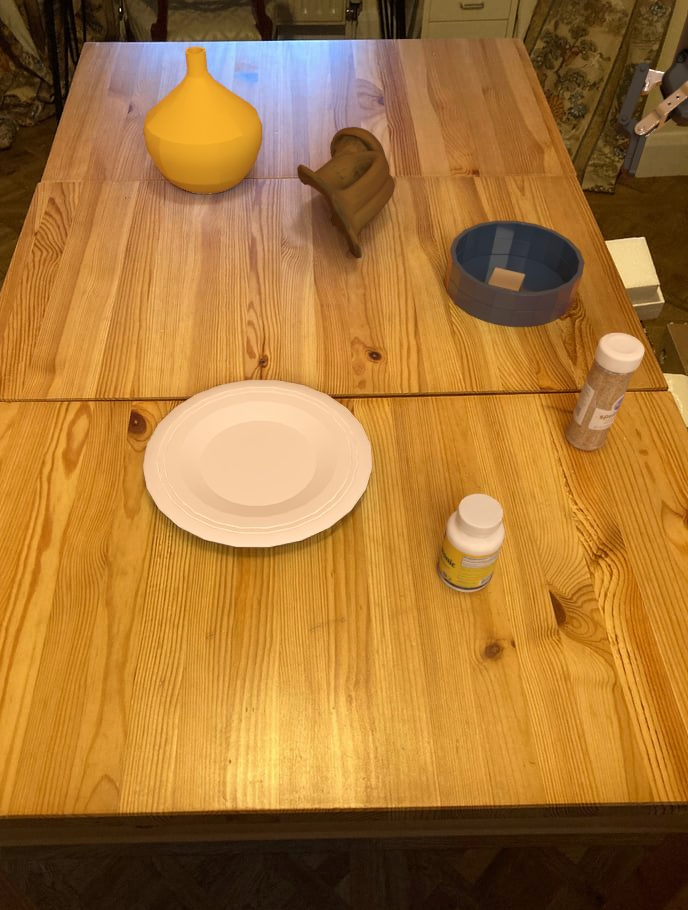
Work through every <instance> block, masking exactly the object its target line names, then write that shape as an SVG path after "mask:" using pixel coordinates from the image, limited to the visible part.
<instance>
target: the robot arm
mask: <svg viewBox="0 0 688 910" xmlns="http://www.w3.org/2000/svg"><path fill="white" fill-rule="evenodd" d="M629 84H630V85H629V86H628V90H627V92H626V95H625V98H624V101H623V103H622V106H621V108H620V111H619V114H618V117H617V120H616V121H615V122H616V123H615V125H614V133H615V134H616V135H620V136H621V135H622V136H623V137H625V138H627V140H628V146H627V149H626V153H625V156H624V159H623V162H622V165H621V168H620V170H621V175H624V176H625V179H624V180H625V182H628V183H633V182H634V179H635V177H636V174H637V171H638V168H639V164H640V161H641V158H642V155H643V151H644V149H645V144H646V142H647V139H648V138H649V137H650V136H652V134H654V133H656V132H658V131H659V130H660V129H662V128H663V127H664V126H665V125H666V124H668V123H669V122H670V121H673V122H674V123H675V126H677V127H683V128H688V11H687V14H686V17H685V20H684V23H683V27H682V30H681V33H680V36H679V39H678V43H677V46H676V48H675V52H674V54H673V58H672V61H671V65H670V66H669V67H668V69H666V70H665V71H661V70H656V69H651V67H650V64H649V63H648V62H646V61H642V62H639V63H638V64H637V66H636V68H635V71H634V74H633V76H632V79H631V82H630V83H629ZM654 87H659V92H660V94H661V96H662V99H663V101H661V102H660V103H659V104H657V106H656V107H654V109H653V110H652V111H651V112H650V113H648V114H647V115H646V116H645V117H644V118H643V119H640V121H639V120H637V119H635V118H634V117H633V116H634V112H635V109H636V107H637V105H638V102H639V100H640V99H639V98H640V96H646V95H648V94H650V92H651V91H652V89H653V88H654Z"/></svg>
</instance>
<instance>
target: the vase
mask: <svg viewBox="0 0 688 910" xmlns="http://www.w3.org/2000/svg"><path fill="white" fill-rule="evenodd" d="M184 54H185V63H186V73H185V75H184V77H183V78H182V80H181V81H180V82H179V83H178V84H177V85H176V86H175V87H174V88H173V89H172V90H171V91H170V92H169V93H168V94H167V95H165V96H164V97H163V98H162V99H161V100H160V101H159V102H157V103H156V104H154V106H153V107H151V109H150V110H148V112H147V113H146V116H145V118H144V122H143V128H142V131H143V137H144V142H145V148H146V152H147V153H148V155H149V156H150V158H151V160H152V162H153V163H154V165H155V167H156V168H157V170H158V171H159V172H160V174H162V175H163V176H164V177H165V178H166V179H167V180H168V181H169V182H170V183H171V184H172V185H174V186H176V187H177V188H179V189H181V190H183V189H184V190H183V191H185V190H186V191H185V192H188V191H189V193H191V192H194V193H193V194H195V193H202V194H201V195H210V194H209V193H217V194H219V193H218V192H221V191H224V192H226V191H225V190H227V191H228V189H229V190H231V189H233V188H234V187H235V186H237V185H238V184H239V183H241V182H242V181H243V180H244V179H245V178H246V177H247V175H248V174H249V172H250V171H251V170H252V168H253V167H254V166H255V164H256V162H257V159H258V156H259V153H260V150H261V148H262V144H263V123H262V121H261V117H260V116H259V114H258V111H257V109H256V107H254V106H253V105H252V104H251V103H250V102H248V101H247V100H245V99H244V98H242V97H241V96H239V95H237V94H236V93H235V92H233V91H232V90H230V89H228V87H226V86H225V85H223V84H221V83H220V81H217V80H216V79H215V78H214V77H213V76H212V74H211V73H209V69H208V62H207V60H208V59H207V51H206V48H205V47H203V46H189V47H187V48H186V49H185V50H184ZM230 188H231V189H230ZM203 193H205V194H203ZM221 193H222V192H221Z"/></svg>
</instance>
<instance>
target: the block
mask: <svg viewBox="0 0 688 910" xmlns="http://www.w3.org/2000/svg"><path fill="white" fill-rule="evenodd" d="M524 277H525V274H522V273H518V272H513V271H509V270H505V269H500V268H495V269H494V272H493V274H492V276H491V278H490V280H489V282H488V285H491V286H493V287H496V288H500V289H505V290H510V291H516V292H521V289H522V285H523V281H524Z"/></svg>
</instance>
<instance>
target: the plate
mask: <svg viewBox="0 0 688 910" xmlns="http://www.w3.org/2000/svg"><path fill="white" fill-rule="evenodd" d="M370 442H371V441H370V440H369V438H368V435H367V433H366V431H365V429H364V426H363V424H362V423H361V422H360V421H359V420H358V419H357V418H356V416H355V415H353V413H352V412H351V411H350V409H349V408H347V407H346V406H344V405H343V404H342V403H340V402H339V401H337V400H336V399H334V398H333V397H332V396H331V395H329V394H327V393H324V392H322V391H319V390H317V389H314V388H312V387H310V386H307V385H304V384H301V383H294V382H290V381H284V380H279V379H246V380H240V381H234V382H229V383H222V384H219V385H217V386H214V387H211V388H208V389H206V390H203V391H200V392H197V393H196V394H194V395H193V396H191V397H189V398H187V399H186V400H185V401H183V402H181V403H180V404H178V405H176V406H175V407H174V408H172V410H171V411H170V412H168V414H167V415H166V416H164V418H163V419H161V421H160V422H159V423H158V424H157V425H156V427H155V429H154V430H153V433H152V435H151V436H150V438H149V439H148V442H147V443H146V446H145V447H146V448H145V452H144V458H143V463H142V469H143V474H144V480H145V486H146V490H147V493H148V494H149V496H150V497H151V499H152V500H153V502H154V504H155V505H156V507H157V509H158V510H159V512H161V513H162V514H163V515H164V516H165V517H166V518H167V519H168V520H170V521H171V522H172V523H173V524H174V525H175V526H176V527H177V528H179V529H181V530H182V531H185V532H187V533H189V534H190V535H193V536H195V537H197V538H198V539H200V540H203V541H205V542H209V543H214V544H217V545H222V546H226V547H231V548H236V549H272V548H276V547H282V546H285V545H291V544H295V543H299V542H300V543H301V542H303V541H305V540H308V539H309V538H311V537H315V536H316V535H318V534H321V533H323V532H325V531H326V530H329V529H330V528H332V527H334V526H335V525H336V524H337V523H338V522H340V520H342V519H343V518H344V517H346V516H347V515H348V514H349V513H351V512H352V511H353V509H354V508H355V506H356V505H357V504H358V502H359V501H360V500H361V498H362V496H364V493H365V492H366V491H367V487H368V483H369V481H370V477H371V475H372V470H373V457H372V445H371V443H370Z"/></svg>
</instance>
